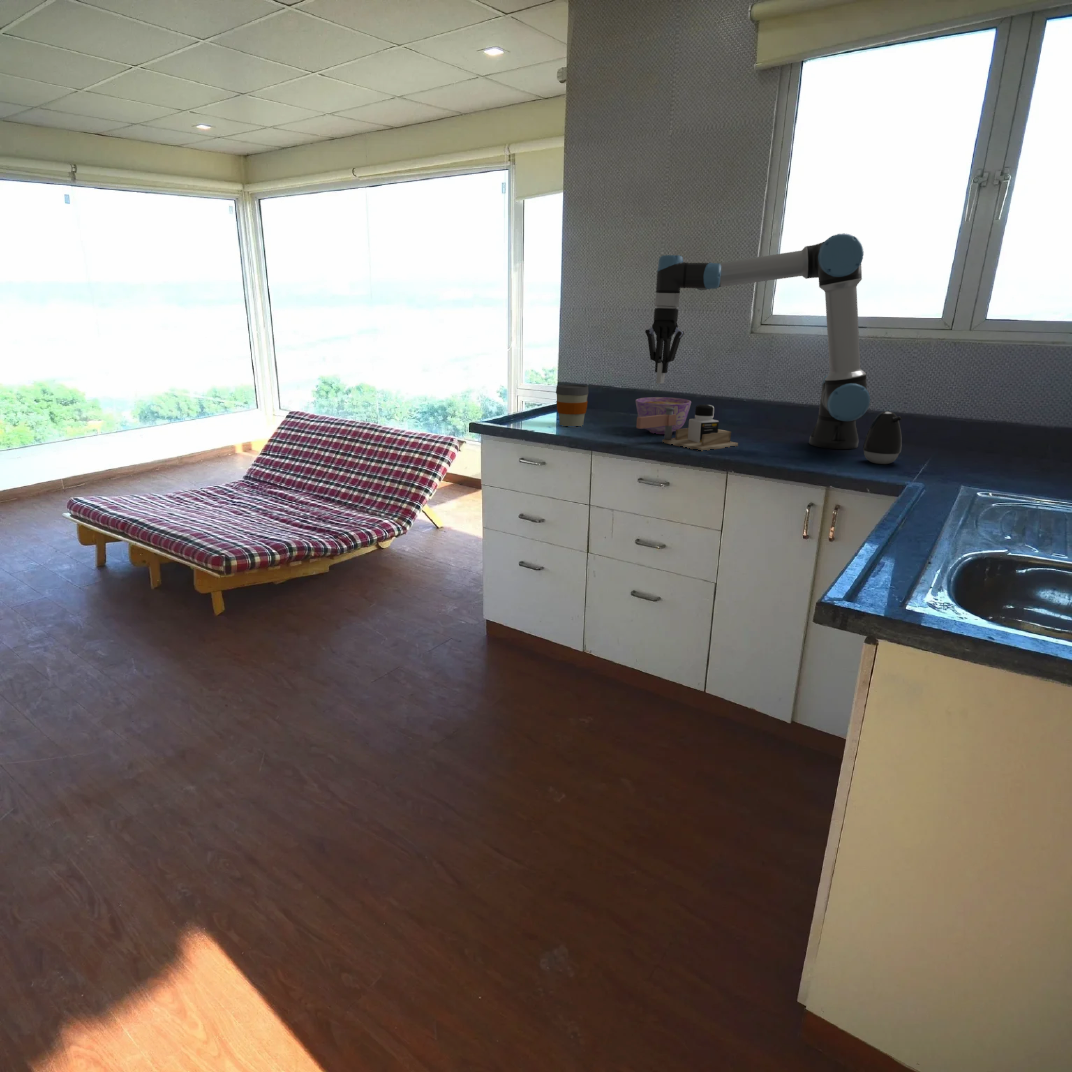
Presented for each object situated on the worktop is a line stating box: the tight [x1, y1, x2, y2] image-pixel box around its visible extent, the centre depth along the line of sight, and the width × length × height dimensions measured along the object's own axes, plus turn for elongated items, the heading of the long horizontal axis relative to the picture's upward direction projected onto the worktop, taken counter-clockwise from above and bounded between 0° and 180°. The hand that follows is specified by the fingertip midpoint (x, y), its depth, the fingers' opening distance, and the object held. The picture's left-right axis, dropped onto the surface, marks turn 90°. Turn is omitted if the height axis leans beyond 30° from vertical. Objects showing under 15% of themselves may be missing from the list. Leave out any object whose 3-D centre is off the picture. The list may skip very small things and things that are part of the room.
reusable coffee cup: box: [555, 383, 590, 427], centre depth 265 cm, size 13×12×15 cm
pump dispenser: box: [862, 410, 903, 465], centre depth 204 cm, size 10×10×15 cm
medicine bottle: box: [687, 404, 720, 443], centre depth 230 cm, size 7×7×12 cm
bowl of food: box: [635, 396, 692, 435], centre depth 252 cm, size 20×20×12 cm
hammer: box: [636, 408, 676, 440], centre depth 229 cm, size 15×3×10 cm, turn 123°
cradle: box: [662, 427, 739, 452], centre depth 231 cm, size 18×17×4 cm
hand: (660, 383), depth 227 cm, fingers closed
